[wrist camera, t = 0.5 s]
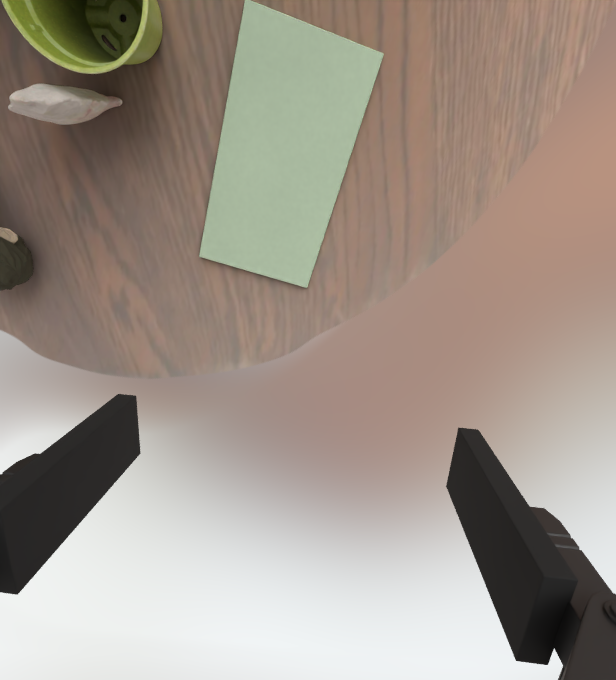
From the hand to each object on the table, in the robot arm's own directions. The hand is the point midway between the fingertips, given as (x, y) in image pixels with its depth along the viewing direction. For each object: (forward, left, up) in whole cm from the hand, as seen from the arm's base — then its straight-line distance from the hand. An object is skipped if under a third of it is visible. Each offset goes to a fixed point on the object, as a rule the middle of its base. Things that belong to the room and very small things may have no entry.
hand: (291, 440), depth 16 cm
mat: (-6, +6, -29) cm, 30 cm away
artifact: (-23, -1, -29) cm, 37 cm away
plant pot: (-23, +7, -29) cm, 37 cm away
